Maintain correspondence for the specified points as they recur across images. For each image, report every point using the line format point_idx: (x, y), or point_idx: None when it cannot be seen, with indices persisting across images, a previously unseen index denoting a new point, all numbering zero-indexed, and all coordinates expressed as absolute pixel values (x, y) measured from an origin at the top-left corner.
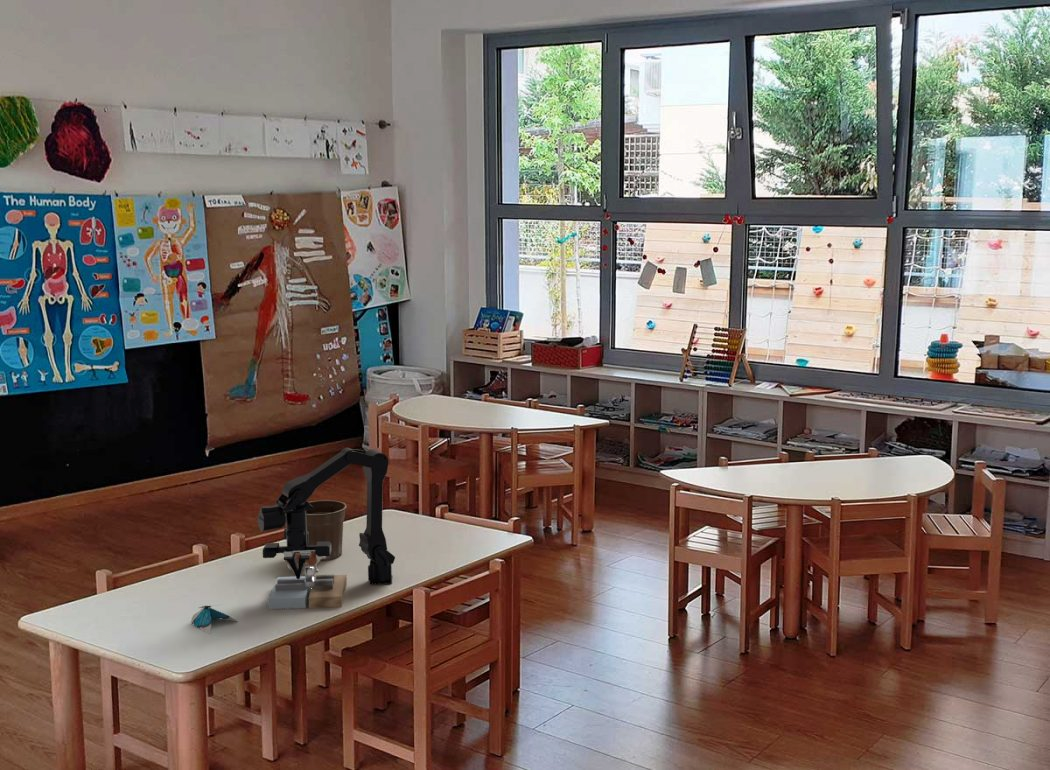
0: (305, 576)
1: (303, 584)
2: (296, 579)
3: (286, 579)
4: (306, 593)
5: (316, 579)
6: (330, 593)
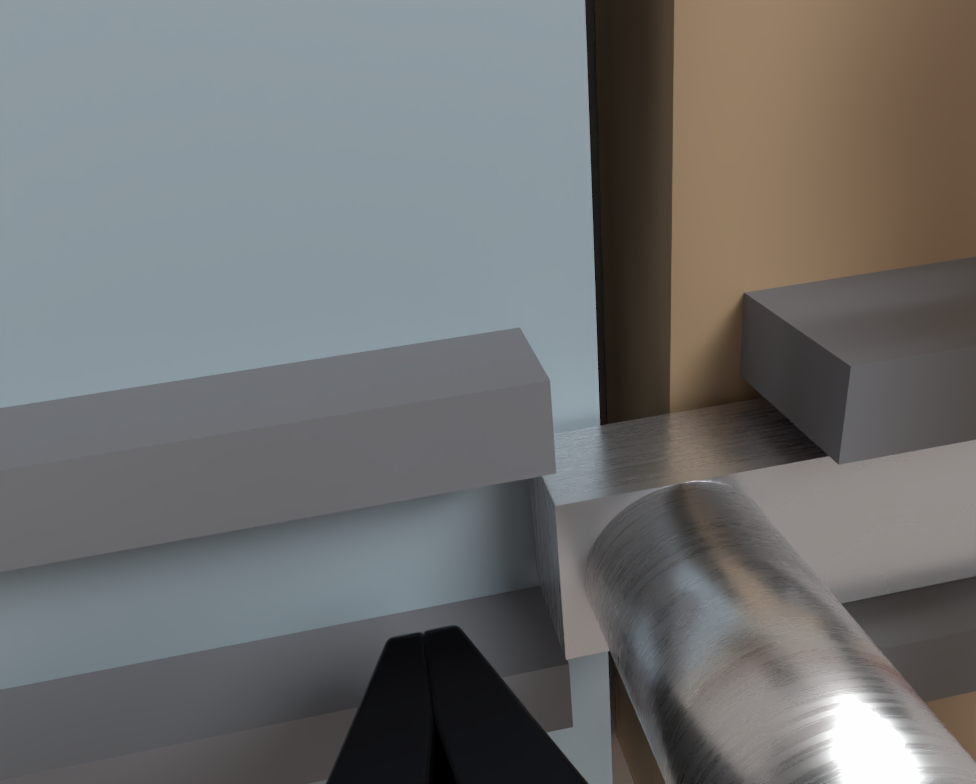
0: (622, 679)
1: (566, 724)
2: (325, 495)
3: (42, 516)
4: (609, 740)
5: (819, 498)
6: (957, 703)
